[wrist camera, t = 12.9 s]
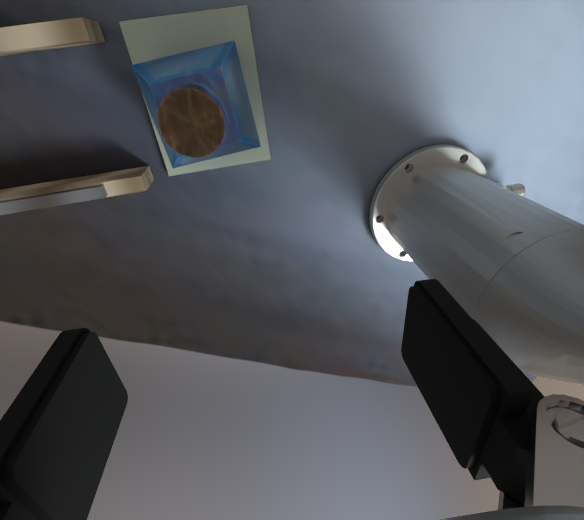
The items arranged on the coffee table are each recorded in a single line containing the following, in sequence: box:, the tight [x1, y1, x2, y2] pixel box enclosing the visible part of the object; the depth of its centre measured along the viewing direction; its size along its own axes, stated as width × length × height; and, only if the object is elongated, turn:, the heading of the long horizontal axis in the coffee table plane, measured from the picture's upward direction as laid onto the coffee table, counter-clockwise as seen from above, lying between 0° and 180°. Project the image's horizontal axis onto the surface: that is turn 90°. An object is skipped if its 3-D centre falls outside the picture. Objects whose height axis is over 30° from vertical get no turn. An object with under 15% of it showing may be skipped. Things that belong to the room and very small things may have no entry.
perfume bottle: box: [131, 40, 261, 168], centre depth 21 cm, size 6×6×12 cm
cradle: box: [0, 17, 154, 215], centre depth 24 cm, size 14×11×4 cm
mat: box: [119, 5, 271, 176], centre depth 26 cm, size 9×11×1 cm
